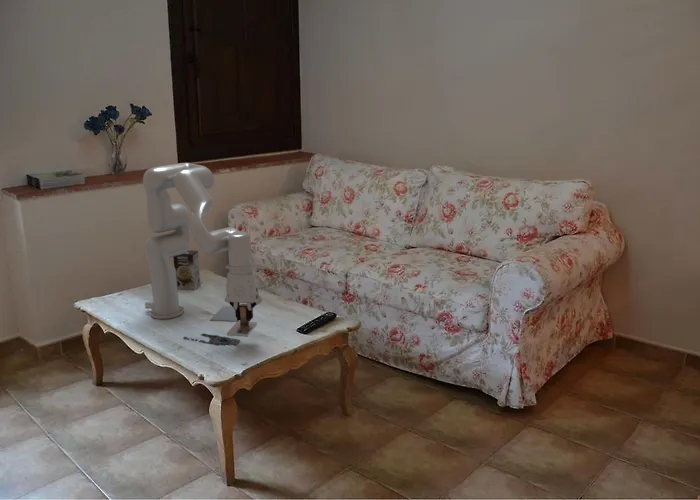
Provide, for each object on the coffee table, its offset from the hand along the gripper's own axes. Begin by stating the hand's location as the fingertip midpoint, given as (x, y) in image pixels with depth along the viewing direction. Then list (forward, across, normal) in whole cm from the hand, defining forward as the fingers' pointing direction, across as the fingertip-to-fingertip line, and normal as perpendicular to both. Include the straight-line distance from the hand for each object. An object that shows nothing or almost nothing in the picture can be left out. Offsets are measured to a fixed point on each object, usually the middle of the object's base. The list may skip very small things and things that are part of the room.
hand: (244, 319), depth 221 cm
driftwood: (+10, -13, +2) cm, 16 cm away
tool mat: (+9, -15, +25) cm, 31 cm away
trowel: (+3, 0, -3) cm, 4 cm away
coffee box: (+10, -44, +53) cm, 70 cm away
